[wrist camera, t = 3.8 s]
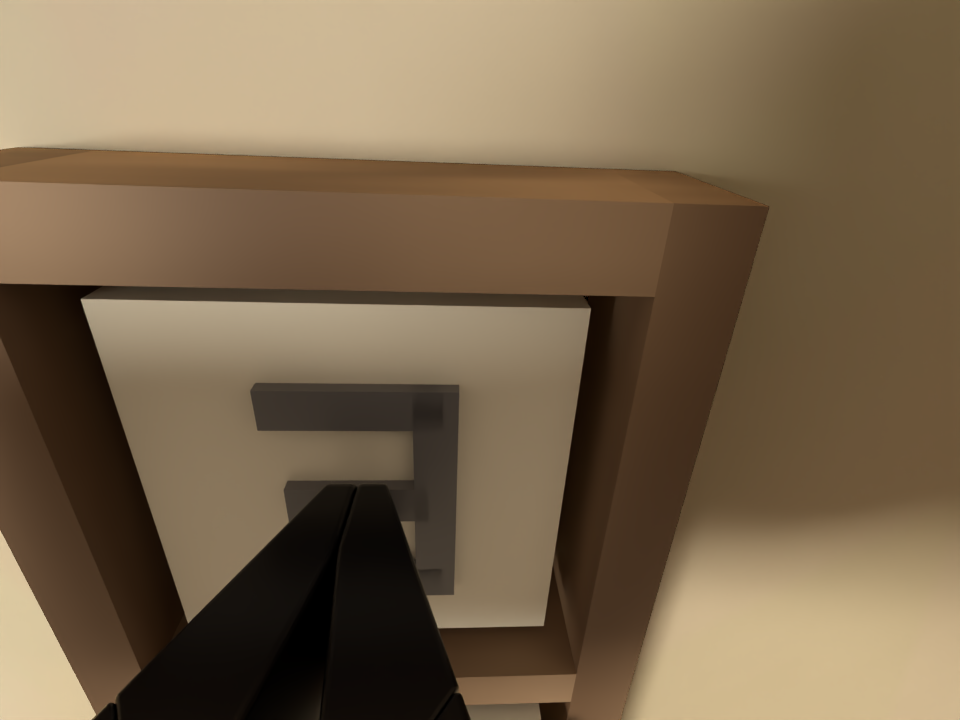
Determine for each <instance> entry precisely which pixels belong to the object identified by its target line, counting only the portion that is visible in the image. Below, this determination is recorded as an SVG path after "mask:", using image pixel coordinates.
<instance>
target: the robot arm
mask: <svg viewBox="0 0 960 720" xmlns="http://www.w3.org/2000/svg"><path fill="white" fill-rule="evenodd" d="M92 720H471V719H470V716H469V713H468V710H467V707H466V705H465V702H464V699H463V696H462V694H461V693H459V686H458V683H457V680H456V677H455V675H454V672H453V669H452V666H451V663H450V660H449V658H448V655H447V652H446V649H445V646H444V643H443V640H442V638H441V635H440V632H439V629H438V626H437V623H436V621H435V618H434V615H433V612H432V609H431V606H430V604H429V601H428V598H427V595H426V592H425V589H424V587H423V584H422V581H421V578H420V575H419V572H418V570H417V567H416V564H415V561H414V558H413V555H412V553H411V550H410V547H409V544H408V541H407V538H406V536H405V533H404V530H403V527H402V524H401V521H400V518H399V516H398V513H397V510H396V507H395V504H394V501H393V499H392V496H391V493H390V490H389V487H388V486H387V485H386V484H384V483H362V484H360V485H359V486H358V487H357V486H356V485H355V484H353V483H331V484H328V485H326V486H324V487H323V488H322V489H321V490H320V491H319V492H318V493H317V494H316V495H315V496H314V497H313V498H312V499H311V500H310V501H309V502H308V503H307V504H306V505H305V506H304V507H303V508H302V509H301V510H300V511H299V512H298V513H297V514H296V515H295V516H294V517H293V518H292V519H291V520H290V521H289V522H288V523H287V524H286V525H285V526H284V527H283V528H282V529H281V530H280V532H279V533H278V534H277V535H276V536H275V537H274V538H273V539H272V540H271V541H270V542H269V543H268V544H267V545H266V546H265V547H264V548H263V549H262V550H261V551H260V552H259V553H258V554H257V555H256V556H255V557H254V558H253V559H252V560H251V561H250V562H249V563H248V564H247V565H246V566H245V567H244V568H243V569H242V570H241V571H240V572H239V573H238V574H237V575H236V576H235V577H234V578H233V579H232V580H231V581H230V582H229V583H228V584H227V585H226V586H225V587H224V588H223V589H222V590H221V591H220V592H219V593H218V594H217V595H216V596H215V597H214V598H213V599H212V600H211V601H210V602H209V603H208V604H207V605H206V606H205V607H204V608H203V609H202V610H201V611H200V612H199V613H198V614H197V615H196V616H195V617H194V618H193V619H192V620H191V621H190V622H189V623H188V624H187V625H186V626H185V627H184V628H183V629H182V630H181V631H180V632H179V633H178V634H177V635H176V636H175V637H174V638H173V639H172V640H171V641H170V642H169V643H168V644H167V645H166V646H165V647H164V648H163V649H162V650H161V651H160V652H159V653H158V654H157V655H156V656H155V657H154V658H153V659H152V660H151V661H150V662H149V663H148V664H147V665H146V666H145V667H144V668H143V669H142V670H141V671H140V672H139V673H138V674H137V675H136V676H135V677H134V678H133V679H132V680H131V681H130V682H129V683H128V684H127V685H126V686H125V687H124V688H123V689H122V690H121V691H120V692H119V693H118V694H117V695H116V698H115V703H108V704H107V705H106V706H105V707H104V708H103V709H102V710H101V711H100V712H99V713H98V714H97V715H96V716H95V717H94V718H93V719H92Z"/></svg>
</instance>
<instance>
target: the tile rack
mask: <svg viewBox="0 0 960 720" xmlns="http://www.w3.org/2000/svg"><path fill="white" fill-rule="evenodd" d="M768 210H769V206H767V205H764V204H761V203H759V202H756V201H753V200H751V199H748V198H745V197H743V196H740V195H737V194H735V193H732V192H729V191H726V190H724V189H721V188H718V187H716V186H713V185H710V184H708V183H705V182H702V181H700V180H697V179H694V178H692V177H689V176H686V175H683V174H681V173H678V172H675V171H648V170H621V169H594V168H566V167H539V166H512V165H485V164H458V163H430V162H403V161H376V160H349V159H321V158H294V157H267V156H240V155H212V154H185V153H158V152H131V151H103V150H76V149H49V148H22V147H17V148H9V149H2V150H0V530H1V532H2V534H3V536H4V538H5V540H6V542H7V544H8V546H9V548H10V549H11V551H12V553H13V555H14V557H15V559H16V561H17V563H18V565H19V567H20V569H21V571H22V573H23V574H24V576H25V578H26V580H27V582H28V584H29V586H30V588H31V590H32V592H33V594H34V596H35V598H36V599H37V601H38V603H39V605H40V607H41V609H42V611H43V613H44V615H45V617H46V619H47V621H48V623H49V624H50V626H51V628H52V630H53V632H54V634H55V636H56V638H57V640H58V642H59V644H60V646H61V648H62V649H63V651H64V653H65V655H66V657H67V659H68V661H69V663H70V665H71V667H72V669H73V671H74V673H75V674H76V676H77V678H78V680H79V682H80V684H81V686H82V688H83V690H84V692H85V694H86V696H87V698H88V699H89V701H90V703H91V705H92V707H93V709H94V711H95V713H96V715H97V714H98V713H99V712H100V711H101V710H102V709H103V708H104V707H105V706H106V705H107V704H108V703H115V698H116V695H117V694H118V693H119V692H120V691H121V690H122V689H123V688H124V687H125V686H126V685H127V684H128V683H129V682H130V681H131V680H132V679H133V678H134V677H135V676H136V675H137V674H138V673H139V672H140V671H141V670H142V669H143V668H144V667H145V666H146V665H147V664H148V663H149V662H150V661H151V660H152V659H153V658H154V657H155V656H156V655H157V654H158V653H159V652H160V651H161V650H162V649H163V648H164V647H165V646H166V645H167V644H168V643H169V642H170V641H171V640H172V639H173V638H174V637H175V636H176V635H177V634H178V633H179V632H180V631H181V630H182V629H183V628H184V627H185V626H186V625H187V624H188V622H187V619H186V616H185V613H184V609H183V606H182V603H181V600H180V597H179V594H178V591H177V588H176V585H175V582H174V579H173V576H172V573H171V570H170V567H169V564H168V561H167V558H166V555H165V552H164V549H163V546H162V543H161V540H160V537H159V534H158V531H157V528H156V525H155V522H154V519H153V516H152V513H151V510H150V507H149V504H148V501H147V498H146V495H145V492H144V489H143V486H142V483H141V480H140V477H139V474H138V471H137V468H136V465H135V462H134V459H133V456H132V453H131V450H130V447H129V444H128V441H127V438H126V435H125V432H124V429H123V426H122V423H121V420H120V417H119V414H118V411H117V408H116V405H115V402H114V399H113V396H112V393H111V390H110V386H109V383H108V380H107V377H106V374H105V371H104V368H103V365H102V362H101V359H100V356H99V353H98V350H97V347H96V344H95V341H94V338H93V335H92V332H91V329H90V326H89V323H88V320H87V317H86V314H85V311H84V308H83V305H82V302H81V298H83V297H85V296H87V295H88V294H90V293H92V292H94V291H95V290H97V289H99V288H100V287H102V286H149V287H198V288H247V289H296V290H345V291H394V292H443V293H492V294H540V295H589V299H588V305H589V306H590V308H591V312H590V319H589V326H588V332H587V339H586V346H585V352H584V359H583V366H582V373H581V379H580V386H579V393H578V399H577V406H576V413H575V419H574V426H573V433H572V440H571V446H570V453H569V460H568V466H567V473H566V480H565V486H564V493H563V500H562V507H561V513H560V520H559V527H558V533H557V540H556V547H555V553H554V560H553V567H552V574H551V580H550V587H549V594H548V600H547V607H546V614H545V620H544V626H519V627H473V628H438V629H439V632H440V635H441V638H442V640H443V643H444V646H445V649H446V652H447V655H448V658H449V660H450V663H451V666H452V669H453V672H454V675H455V677H456V680H457V683H458V686H459V693H461V694H462V696H463V699H464V702H465V705H487V704H519V703H539V708H540V715H541V720H621V716H622V713H623V709H624V706H625V702H626V699H627V695H628V692H629V689H630V685H631V682H632V678H633V675H634V671H635V668H636V664H637V661H638V658H639V654H640V651H641V647H642V644H643V640H644V637H645V633H646V630H647V627H648V623H649V620H650V616H651V613H652V609H653V606H654V602H655V599H656V596H657V592H658V589H659V585H660V582H661V578H662V575H663V571H664V568H665V565H666V561H667V558H668V554H669V551H670V547H671V544H672V540H673V537H674V534H675V530H676V527H677V523H678V520H679V516H680V513H681V509H682V506H683V503H684V499H685V496H686V492H687V489H688V485H689V482H690V478H691V475H692V472H693V468H694V465H695V461H696V458H697V454H698V451H699V447H700V444H701V441H702V437H703V434H704V430H705V427H706V423H707V420H708V416H709V413H710V410H711V406H712V403H713V399H714V396H715V392H716V389H717V385H718V382H719V379H720V375H721V372H722V368H723V365H724V361H725V358H726V354H727V351H728V348H729V344H730V341H731V337H732V334H733V330H734V327H735V323H736V320H737V317H738V313H739V310H740V306H741V303H742V299H743V296H744V292H745V289H746V286H747V282H748V279H749V275H750V272H751V268H752V265H753V261H754V258H755V255H756V251H757V248H758V244H759V241H760V237H761V234H762V230H763V227H764V224H765V220H766V217H767V213H768Z"/></svg>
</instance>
